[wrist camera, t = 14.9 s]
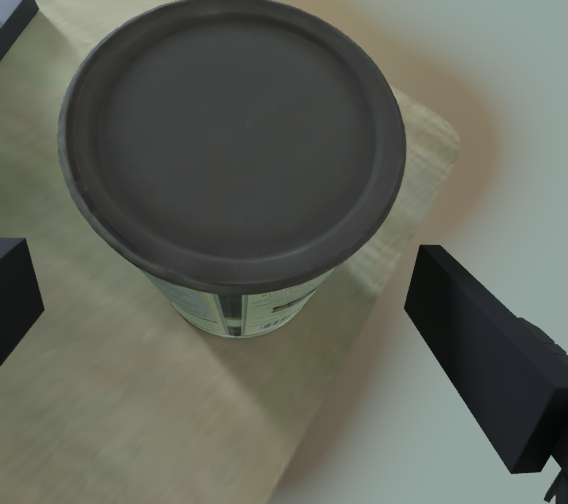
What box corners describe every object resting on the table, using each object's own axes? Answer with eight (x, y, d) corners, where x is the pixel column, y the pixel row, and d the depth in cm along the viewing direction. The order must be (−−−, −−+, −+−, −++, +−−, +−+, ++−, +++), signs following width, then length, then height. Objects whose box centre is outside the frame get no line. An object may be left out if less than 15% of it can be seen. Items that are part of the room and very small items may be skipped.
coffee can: (221, 160, 27) (204, -55, 13) (345, 240, 26) (460, 97, 12) (122, 278, 23) (-33, 148, 10) (260, 374, 22) (293, 372, 9)
